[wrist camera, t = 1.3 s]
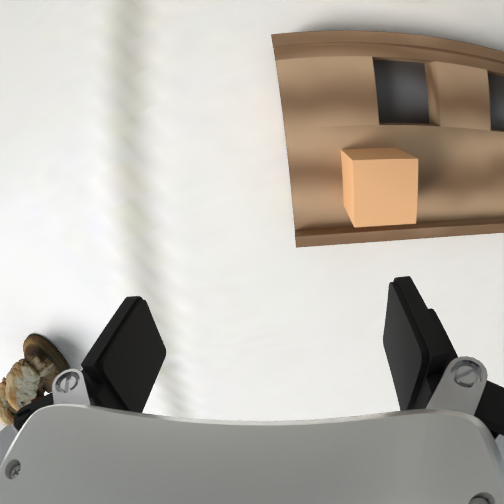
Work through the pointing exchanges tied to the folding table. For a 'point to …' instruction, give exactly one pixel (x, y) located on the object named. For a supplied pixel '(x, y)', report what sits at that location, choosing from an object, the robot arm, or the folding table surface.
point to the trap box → (393, 128)
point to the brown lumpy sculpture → (30, 376)
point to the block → (379, 186)
